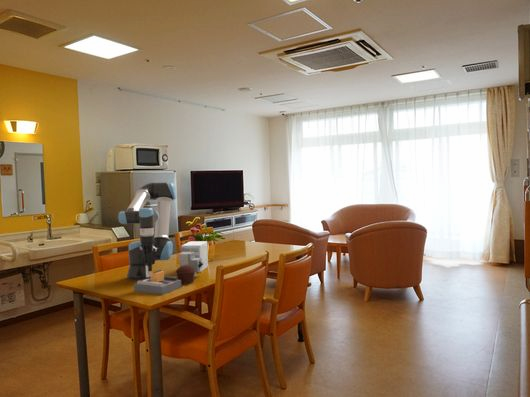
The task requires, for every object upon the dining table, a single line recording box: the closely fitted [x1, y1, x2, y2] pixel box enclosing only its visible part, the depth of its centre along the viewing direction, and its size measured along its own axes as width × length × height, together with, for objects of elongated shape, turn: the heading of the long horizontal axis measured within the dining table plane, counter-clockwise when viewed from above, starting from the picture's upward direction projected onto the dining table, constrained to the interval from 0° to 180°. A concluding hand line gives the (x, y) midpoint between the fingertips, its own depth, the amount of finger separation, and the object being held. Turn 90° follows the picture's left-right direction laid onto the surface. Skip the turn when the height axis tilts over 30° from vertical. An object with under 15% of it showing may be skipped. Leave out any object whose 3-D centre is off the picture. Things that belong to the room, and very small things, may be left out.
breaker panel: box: [133, 275, 182, 295], centre depth 226 cm, size 20×16×6 cm
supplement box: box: [180, 240, 209, 273], centre depth 274 cm, size 17×13×18 cm
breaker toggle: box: [150, 269, 165, 282], centre depth 226 cm, size 4×6×6 cm, turn 155°
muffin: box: [175, 265, 196, 285], centre depth 240 cm, size 12×11×10 cm
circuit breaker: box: [177, 252, 203, 277], centre depth 254 cm, size 8×14×15 cm, turn 79°
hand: (148, 276), depth 228 cm, fingers closed
